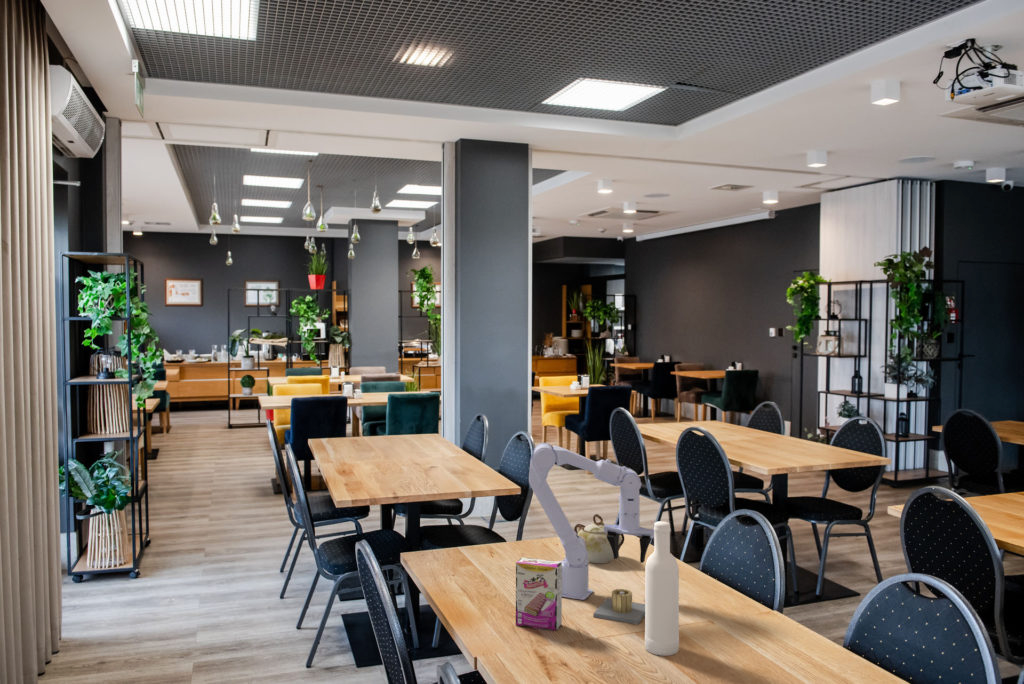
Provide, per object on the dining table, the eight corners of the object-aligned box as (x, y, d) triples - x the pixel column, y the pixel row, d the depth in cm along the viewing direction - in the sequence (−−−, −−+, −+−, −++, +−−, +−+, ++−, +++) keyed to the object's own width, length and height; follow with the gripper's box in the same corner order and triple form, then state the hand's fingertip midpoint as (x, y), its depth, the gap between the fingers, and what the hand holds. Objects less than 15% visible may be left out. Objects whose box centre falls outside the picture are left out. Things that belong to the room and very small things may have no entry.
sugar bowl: (560, 559, 246) (560, 513, 246) (587, 549, 257) (587, 505, 257) (610, 571, 233) (610, 524, 233) (636, 560, 244) (636, 515, 244)
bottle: (685, 654, 174) (685, 525, 174) (654, 658, 172) (654, 528, 171) (668, 640, 182) (668, 517, 181) (639, 644, 180) (639, 520, 179)
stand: (593, 616, 197) (593, 596, 196) (607, 601, 207) (607, 582, 207) (638, 624, 191) (638, 603, 191) (649, 608, 202) (649, 588, 202)
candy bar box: (514, 626, 191) (514, 562, 190) (521, 618, 195) (520, 556, 195) (557, 631, 187) (557, 566, 187) (562, 624, 192) (562, 560, 191)
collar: (609, 610, 198) (609, 594, 198) (615, 604, 203) (615, 587, 203) (628, 614, 196) (628, 597, 196) (634, 607, 201) (634, 590, 200)
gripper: (600, 513, 212) (600, 560, 212) (650, 518, 206) (650, 567, 206) (608, 507, 218) (608, 553, 219) (657, 512, 212) (657, 560, 213)
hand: (629, 560), depth 213 cm, fingers open, 7 cm apart
